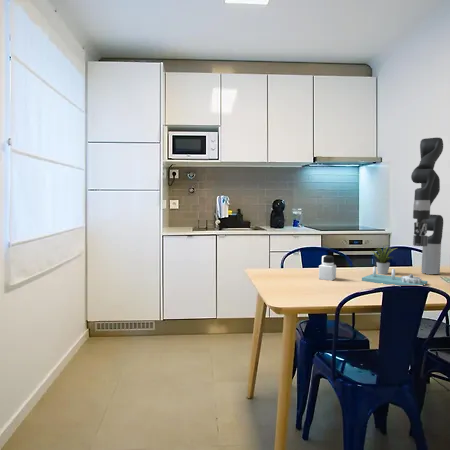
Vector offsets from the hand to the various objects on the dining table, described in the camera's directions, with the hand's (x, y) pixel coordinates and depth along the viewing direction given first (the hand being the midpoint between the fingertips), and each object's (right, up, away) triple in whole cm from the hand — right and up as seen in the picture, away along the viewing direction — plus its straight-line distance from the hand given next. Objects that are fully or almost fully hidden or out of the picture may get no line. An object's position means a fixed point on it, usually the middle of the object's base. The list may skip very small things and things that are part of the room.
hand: (420, 242), depth 202 cm
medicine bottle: (-44, -19, +8) cm, 49 cm away
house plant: (-8, -18, +25) cm, 32 cm away
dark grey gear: (0, -1, 0) cm, 1 cm away
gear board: (-13, -20, +1) cm, 24 cm away
